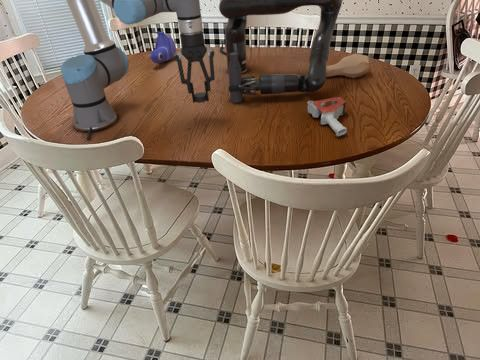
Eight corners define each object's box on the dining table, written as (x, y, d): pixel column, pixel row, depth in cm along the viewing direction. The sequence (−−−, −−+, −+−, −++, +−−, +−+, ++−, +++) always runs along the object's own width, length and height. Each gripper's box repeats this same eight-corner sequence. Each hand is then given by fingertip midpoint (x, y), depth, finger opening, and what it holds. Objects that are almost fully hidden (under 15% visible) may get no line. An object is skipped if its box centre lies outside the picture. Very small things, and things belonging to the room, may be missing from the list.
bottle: (244, 98, 144) (242, 52, 133) (239, 103, 140) (236, 56, 130) (233, 97, 146) (230, 51, 135) (228, 101, 142) (224, 55, 131)
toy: (164, 63, 199) (144, 69, 176) (159, 31, 192) (138, 32, 170) (181, 62, 196) (162, 68, 174) (177, 30, 190) (157, 31, 167)
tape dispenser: (341, 143, 115) (361, 114, 127) (344, 129, 111) (364, 101, 124) (292, 129, 122) (315, 103, 135) (293, 115, 119) (316, 90, 131)
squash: (372, 78, 155) (374, 59, 148) (326, 86, 156) (326, 68, 150) (365, 66, 162) (367, 47, 156) (321, 74, 164) (321, 56, 157)
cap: (196, 97, 129) (195, 92, 128) (208, 97, 129) (207, 92, 127) (193, 102, 126) (192, 97, 125) (205, 102, 125) (204, 97, 124)
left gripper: (163, 37, 110) (176, 107, 124) (218, 32, 111) (225, 102, 125) (165, 31, 116) (177, 99, 130) (217, 26, 117) (223, 93, 131)
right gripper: (270, 68, 143) (228, 70, 143) (273, 81, 131) (227, 83, 132) (270, 86, 147) (230, 88, 148) (273, 100, 136) (229, 102, 136)
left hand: (200, 100), depth 127 cm, fingers closed on cap, 4 cm apart
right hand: (229, 86), depth 140 cm, fingers closed on bottle, 5 cm apart
